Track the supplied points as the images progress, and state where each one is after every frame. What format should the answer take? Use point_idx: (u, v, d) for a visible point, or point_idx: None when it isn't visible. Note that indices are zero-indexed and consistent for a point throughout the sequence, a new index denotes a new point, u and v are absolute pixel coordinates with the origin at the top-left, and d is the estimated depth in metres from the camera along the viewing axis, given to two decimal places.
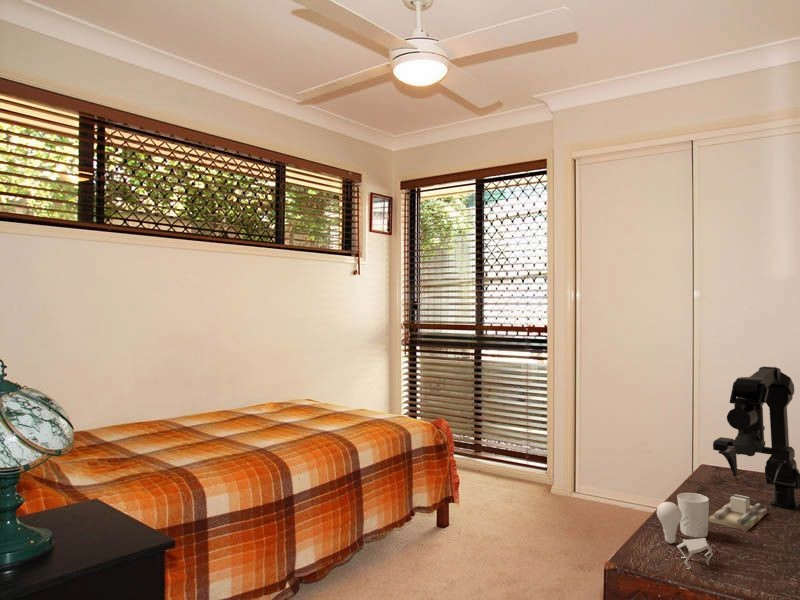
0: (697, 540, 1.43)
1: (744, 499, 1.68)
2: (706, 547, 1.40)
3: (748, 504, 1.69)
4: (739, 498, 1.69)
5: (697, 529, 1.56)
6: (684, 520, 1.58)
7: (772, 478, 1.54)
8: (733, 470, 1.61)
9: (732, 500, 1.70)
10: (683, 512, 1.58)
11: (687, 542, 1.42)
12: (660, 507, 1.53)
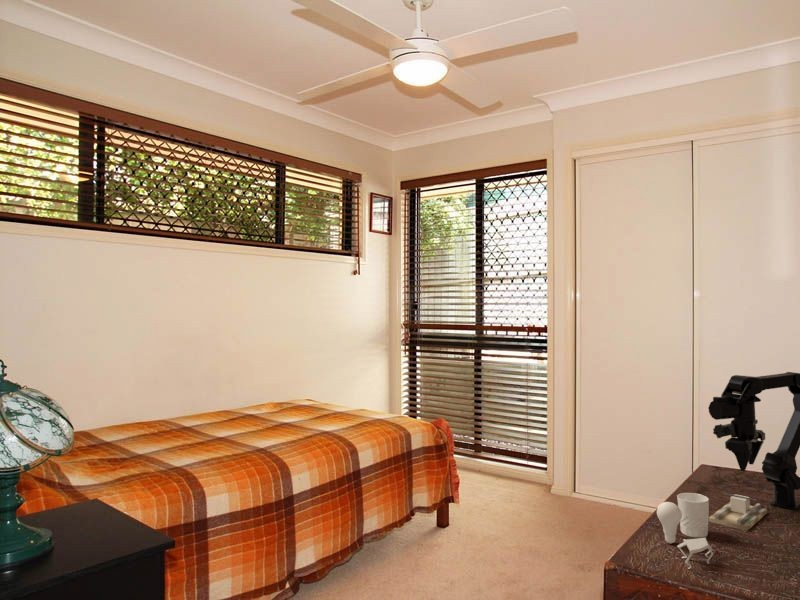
0: (697, 540, 1.43)
1: (744, 499, 1.68)
2: (707, 547, 1.40)
3: (748, 504, 1.69)
4: (739, 498, 1.69)
5: (697, 529, 1.56)
6: (684, 520, 1.58)
7: None
8: None
9: (732, 500, 1.70)
10: (683, 512, 1.58)
11: (688, 542, 1.42)
12: (660, 507, 1.53)
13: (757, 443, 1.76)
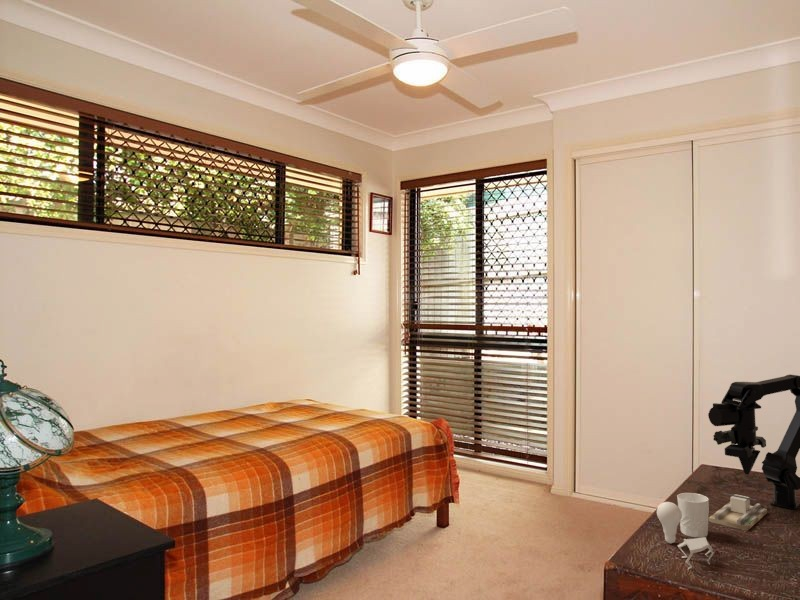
0: (698, 540, 1.43)
1: (744, 499, 1.68)
2: (707, 546, 1.40)
3: (748, 504, 1.69)
4: (739, 498, 1.69)
5: (697, 529, 1.56)
6: (684, 520, 1.58)
7: None
8: None
9: (732, 500, 1.70)
10: (683, 512, 1.58)
11: (688, 541, 1.43)
12: (660, 507, 1.53)
13: (753, 452, 1.74)
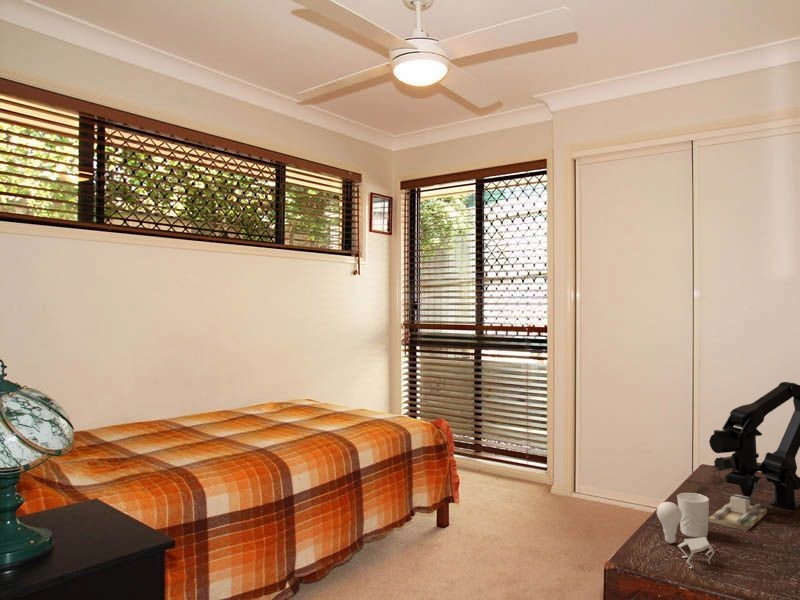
0: (698, 539, 1.43)
1: (744, 499, 1.68)
2: (707, 546, 1.40)
3: (748, 504, 1.69)
4: (739, 498, 1.69)
5: (697, 529, 1.56)
6: (684, 520, 1.58)
7: None
8: None
9: (732, 500, 1.70)
10: (683, 512, 1.58)
11: (688, 541, 1.43)
12: (660, 507, 1.53)
13: (754, 480, 1.74)
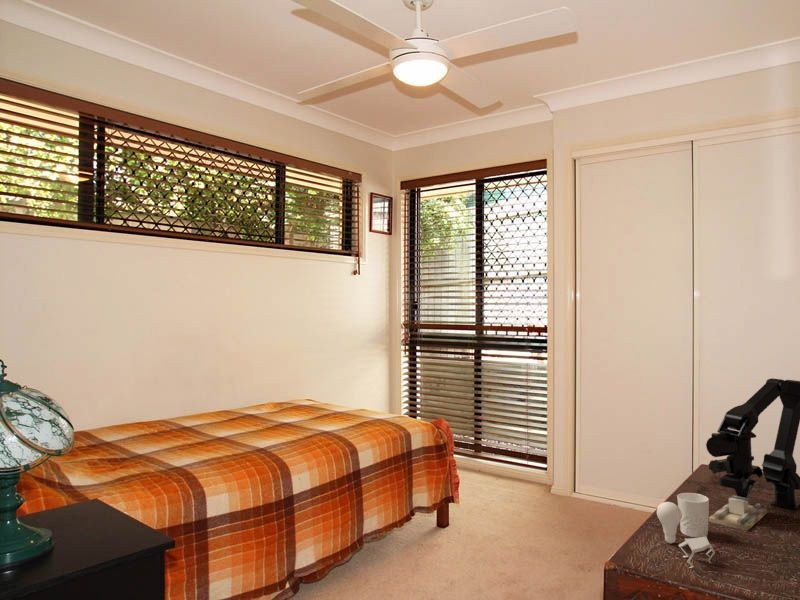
0: (699, 539, 1.44)
1: (742, 500, 1.67)
2: (708, 546, 1.41)
3: (746, 505, 1.68)
4: (737, 499, 1.68)
5: (697, 529, 1.56)
6: (684, 520, 1.58)
7: None
8: None
9: (730, 501, 1.69)
10: (683, 512, 1.58)
11: (689, 541, 1.43)
12: (660, 507, 1.53)
13: (749, 483, 1.71)
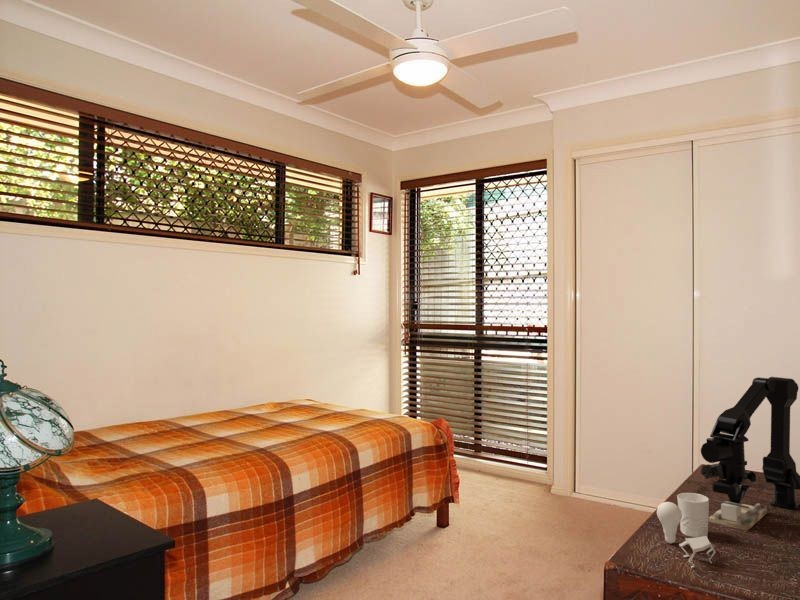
0: (699, 538, 1.44)
1: (735, 506, 1.63)
2: (709, 545, 1.41)
3: (739, 511, 1.64)
4: (730, 505, 1.64)
5: (697, 529, 1.56)
6: (684, 520, 1.58)
7: None
8: None
9: (722, 507, 1.65)
10: (683, 512, 1.58)
11: (690, 540, 1.43)
12: (660, 507, 1.53)
13: (742, 488, 1.66)
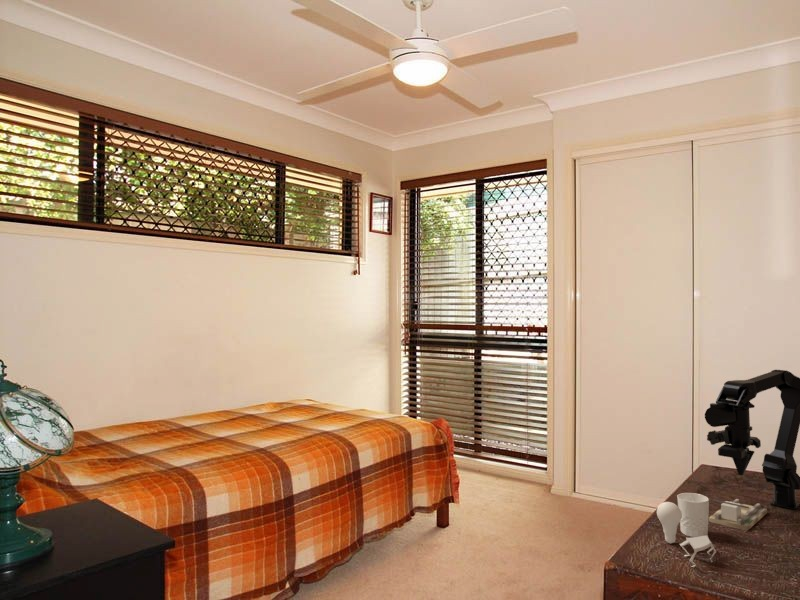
0: (700, 538, 1.44)
1: (735, 506, 1.63)
2: (710, 544, 1.41)
3: (739, 511, 1.64)
4: (730, 505, 1.64)
5: (697, 529, 1.56)
6: (684, 520, 1.58)
7: None
8: None
9: (722, 507, 1.65)
10: (683, 512, 1.58)
11: (691, 540, 1.43)
12: (660, 507, 1.53)
13: (747, 453, 1.70)
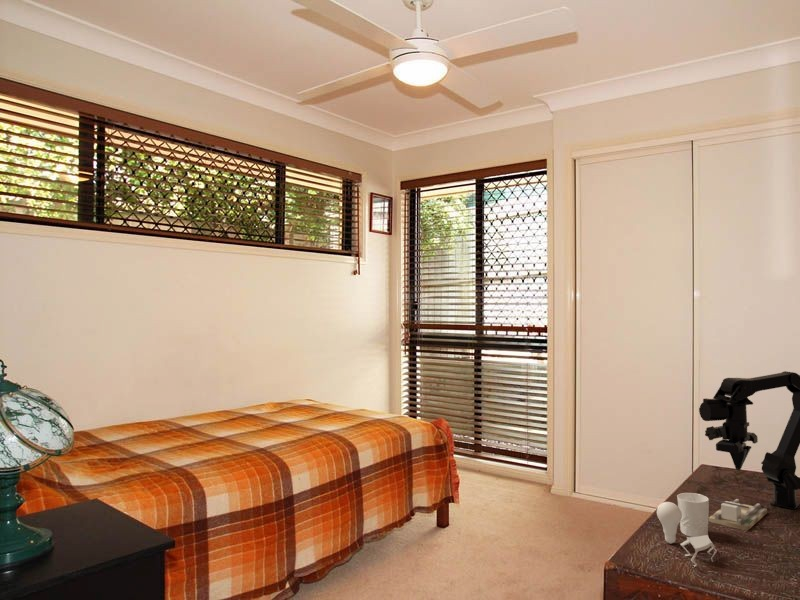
0: (701, 538, 1.45)
1: (735, 506, 1.63)
2: (710, 544, 1.42)
3: (739, 511, 1.64)
4: (730, 505, 1.64)
5: (697, 529, 1.56)
6: (684, 520, 1.58)
7: None
8: None
9: (722, 507, 1.65)
10: (683, 512, 1.58)
11: (691, 540, 1.44)
12: (660, 507, 1.53)
13: (745, 448, 1.75)
